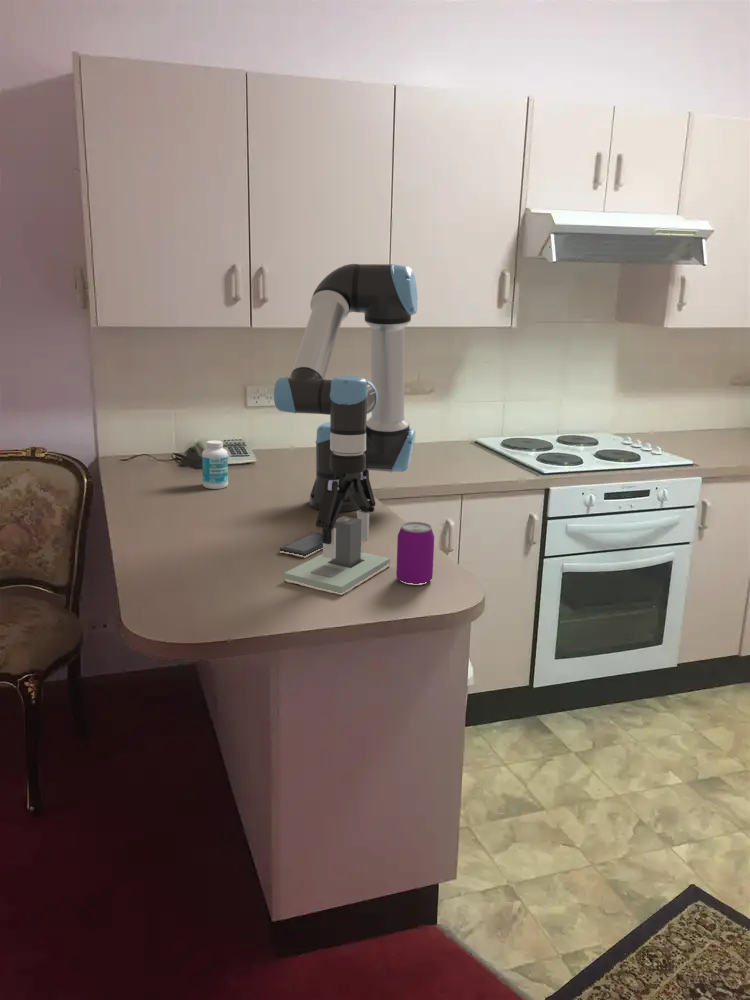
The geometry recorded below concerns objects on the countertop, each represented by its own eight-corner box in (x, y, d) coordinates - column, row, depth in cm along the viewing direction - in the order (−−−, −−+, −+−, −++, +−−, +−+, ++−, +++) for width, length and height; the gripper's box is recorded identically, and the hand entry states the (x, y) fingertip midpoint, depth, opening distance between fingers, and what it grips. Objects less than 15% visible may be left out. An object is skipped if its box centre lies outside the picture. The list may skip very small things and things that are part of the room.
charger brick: (342, 563, 179) (343, 515, 176) (360, 567, 177) (361, 518, 174) (331, 569, 176) (332, 520, 172) (349, 573, 173) (350, 523, 170)
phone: (313, 536, 198) (313, 531, 197) (338, 542, 194) (338, 536, 194) (279, 552, 186) (279, 547, 186) (304, 558, 183) (304, 553, 182)
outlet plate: (336, 554, 186) (336, 545, 185) (389, 566, 179) (390, 557, 178) (284, 581, 169) (284, 572, 168) (341, 596, 162) (341, 585, 162)
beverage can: (394, 574, 175) (396, 520, 172) (429, 573, 175) (432, 520, 172) (397, 587, 168) (399, 532, 164) (434, 587, 168) (437, 532, 165)
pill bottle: (210, 491, 236) (209, 445, 232) (198, 485, 241) (196, 441, 238) (233, 487, 240) (232, 442, 237) (220, 482, 246) (219, 438, 242)
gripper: (362, 440, 182) (361, 530, 187) (298, 460, 161) (298, 561, 166) (392, 444, 178) (389, 536, 184) (330, 465, 157) (329, 568, 163)
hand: (346, 548), depth 175 cm, fingers open, 13 cm apart
